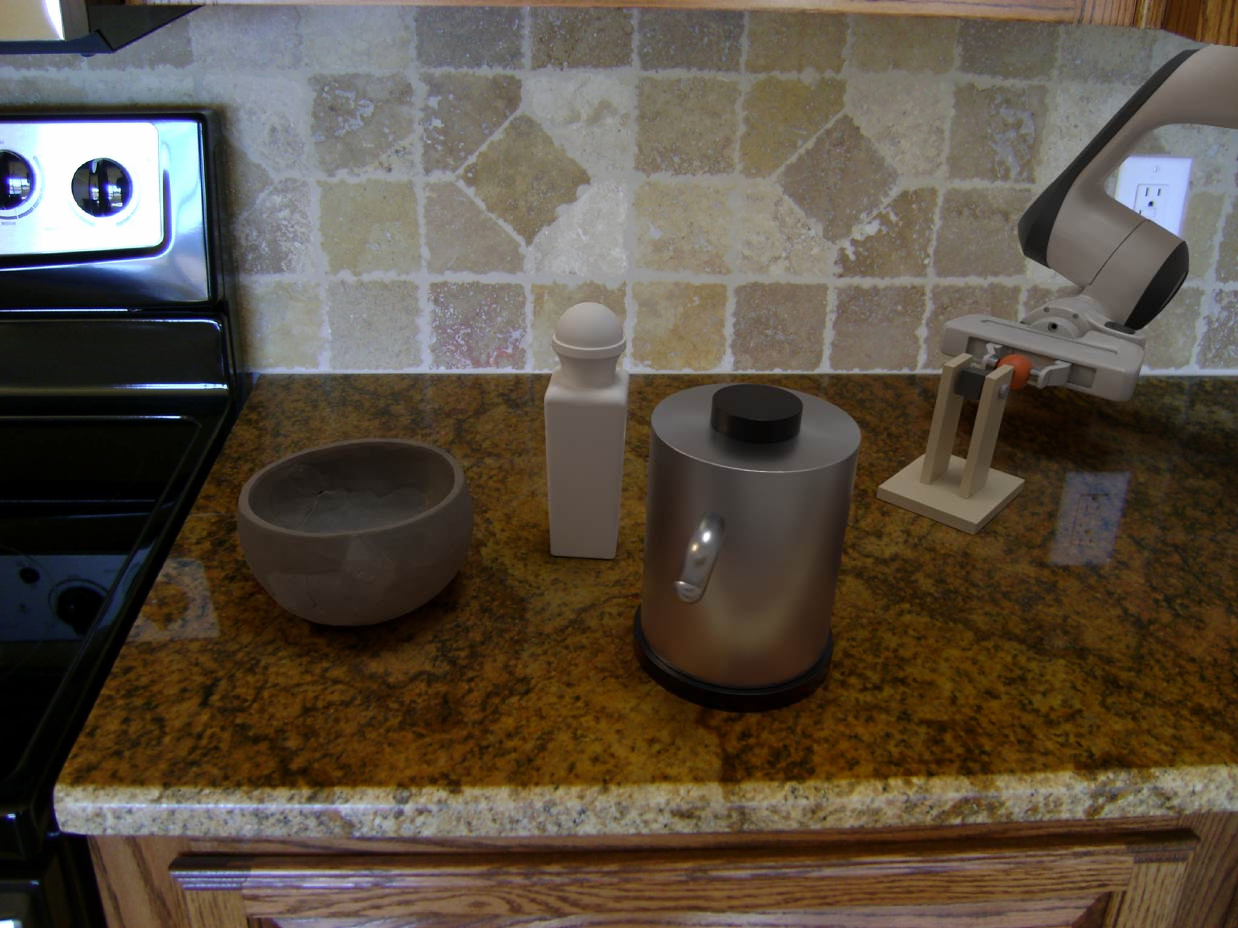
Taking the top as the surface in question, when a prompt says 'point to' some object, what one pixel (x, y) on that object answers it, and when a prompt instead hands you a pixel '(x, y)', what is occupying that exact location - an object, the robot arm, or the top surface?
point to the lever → (975, 377)
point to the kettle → (743, 543)
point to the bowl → (356, 528)
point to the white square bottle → (586, 432)
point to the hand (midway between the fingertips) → (1011, 373)
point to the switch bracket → (958, 459)
